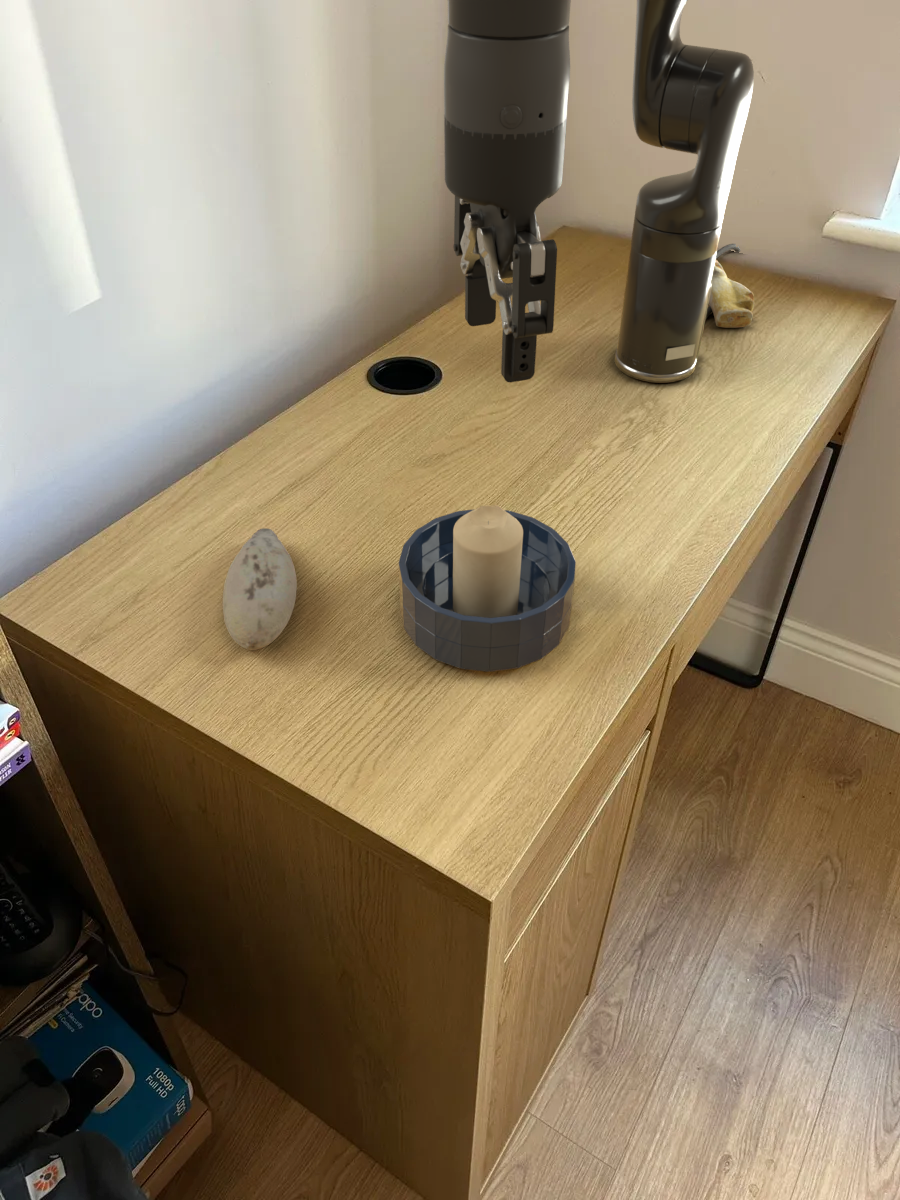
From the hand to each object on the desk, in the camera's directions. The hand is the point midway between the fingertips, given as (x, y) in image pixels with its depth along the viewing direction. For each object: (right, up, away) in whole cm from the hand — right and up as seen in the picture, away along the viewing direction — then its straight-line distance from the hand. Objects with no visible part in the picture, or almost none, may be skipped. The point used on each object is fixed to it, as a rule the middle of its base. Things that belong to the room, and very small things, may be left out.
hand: (498, 349), depth 70 cm
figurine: (+32, +21, +57) cm, 68 cm away
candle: (-1, -19, +12) cm, 23 cm away
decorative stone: (-20, -18, +14) cm, 30 cm away
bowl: (-1, -20, +12) cm, 23 cm away
